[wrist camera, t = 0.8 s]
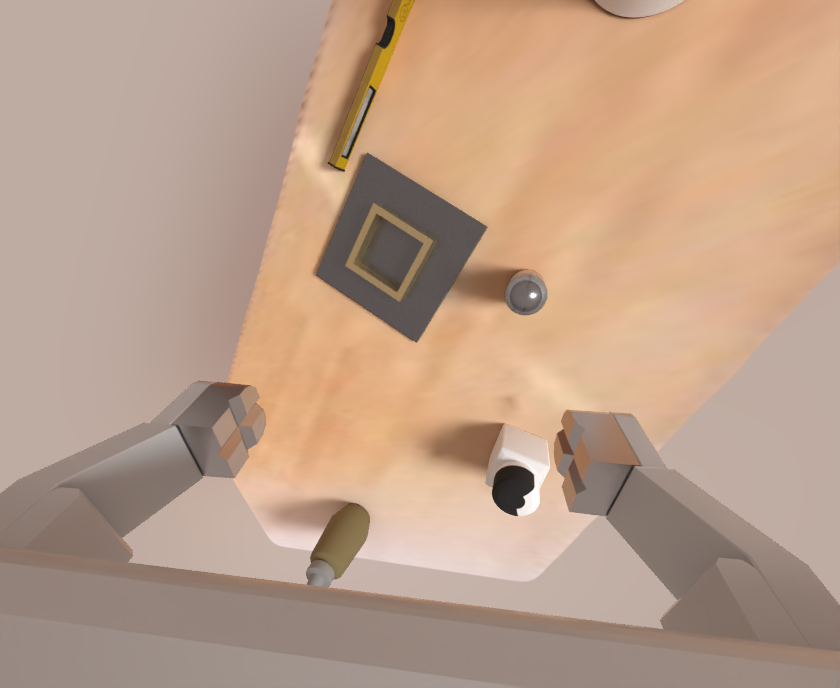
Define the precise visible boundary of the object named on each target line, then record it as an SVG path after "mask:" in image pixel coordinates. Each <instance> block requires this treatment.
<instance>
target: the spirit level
mask: <svg viewBox="0 0 840 688" xmlns="http://www.w3.org/2000/svg"><path fill="white" fill-rule="evenodd" d="M414 1H415V0H393V2H392V4H391V7H390V9H389V12H388V14H387V27H386V29H385V32H384V34H383V37H382V39H381V41H380V42H379V43H376V45H375V47H374V50H373V53H372V55H371V58H370V60H369V63H368V65H367V68H366V70H365V73H364V76H363V78H362V81H361V83H360V86H359V88H358V91H357V93H356V96H355V98H354V101H353V104H352V106H351V109H350V111H349V114H348V116H347V119H346V121H345V124H344V126H343V129H342V132H341V134H340V137H339V139H338V142H337V144H336V147H335V149H334V152H333V154H332V157H331V160H330V162H328V164H330V165H331V166H333V167H334V168H336V169H339V170H342V171H344V172H345V167H346V165H347V163H348V160H349V158H350V155H351V153H352V151H353V148H354V146H355V143H356V141H357V139H358V136H359V134H360V131H361V129H362V126H363V124H364V122H365V119H366V117H367V114H368V112H369V110H370V107H371V105H372V102H373V100H374V98H375V95H376V93H377V90H378V88H379V85H380V83H381V81H382V78H383V76H384V73H385V71H386V69H387V66H388V64H389V61H390V59H391V56H392V54H393V52H394V49H395V47H396V44H397V42H398V40H399V37H400V35H401V32H402V30H403V28H404V25H405V23H406V20H407V18H408V15H409V13H410V11H411V8H412V6H413V3H414Z"/></svg>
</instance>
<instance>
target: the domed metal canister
mask: <svg viewBox="0 0 840 688" xmlns="http://www.w3.org/2000/svg"><path fill="white" fill-rule="evenodd" d="M505 300H506V303H507V305H508V307H509V308H510V309H511V310H512V311H513V312H515V313H517V314H520V315H531V314H534V313H536V312H538V311H539V310H540V309H541V308H542V307H543V306H544V304H545V302H546V300H547V289H546V286H545V283H544V281H543V278H542V277H541V275H540V274H539V273H537V272H536V271H533V270H529V269H525V270H521V271H519V272H517V273H515V274H514V275H513V276H512V278H511V279H510V282H509V284H508V286H507V288H506V291H505Z"/></svg>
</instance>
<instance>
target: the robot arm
mask: <svg viewBox="0 0 840 688" xmlns="http://www.w3.org/2000/svg"><path fill="white" fill-rule="evenodd" d="M595 1H596V3H597V4H599V5H600V6H601V7H602V8H604V9H605V10H607V11H608V12H611V13H613V14H616V15H619V16H623V17H645V16H650V15H654V14H658V13H660V12H663V11H666V10H668V9H670V8H672V7H674V6H676V5H678V4H679V3H681V2H683V1H684V0H595ZM258 399H259V394H258V392H257V389H256V387H253V386H251V385H241V384H231V383H221V382H207V381H197V382H194V383H192V384H191V385H190V386H189V387H188V388H187V389H186V390H185V391H184V392H182V393H181V394H180V395H179V396H178V397H177V398H176V399H175V400H174V401H173V402H172V403H171V404H170V405H169V406H167V407H166V408H165V409H164V410H163V411H162V412H161V413H160V414H159V415H158V416H157V417H156V418H155V419H154V420H152V421H151V422H150V423H142V424H140V425H138V426H136V427H133V428H131V429H129V430H127V431H125V432H122V433H120V434H118V435H116V436H114V437H111V438H109V439H107V440H105V441H103V442H101V443H98V444H96V445H94V446H92V447H89V448H87V449H85V450H83V451H81V452H79V453H76V454H74V455H72V456H70V457H68V458H65V459H63V460H61V461H59V462H56V463H54V464H52V465H50V466H48V467H45V468H43V469H41V470H39V471H37V472H34V473H32V474H30V475H28V476H26V477H23V478H21V479H19V480H17V481H16V482H15V483H13V484H12V485H11V486H9V487H8V488H7V489H6V490H4V491H3V492H2V493H1V494H0V688H840V605H839V604H838V602H837V601H836V600H835V599H834V597H833V596H832V595H831V594H830V592H829V591H828V590H827V589H826V587H825V586H824V585H823V584H822V582H821V581H820V580H819V579H818V578H817V576H816V575H815V574H814V572H813V571H812V570H811V569H810V567H809V566H808V565H807V564H805V563H804V562H803V561H801V560H800V559H798V558H797V557H796V556H794V555H793V554H791V553H790V552H789V551H787V550H786V549H784V548H783V547H782V546H780V545H779V544H778V543H776V542H775V541H773V540H772V539H771V538H769V537H768V536H766V535H765V534H764V533H762V532H761V531H759V530H758V529H757V528H755V527H754V526H752V525H751V524H750V523H748V522H747V521H745V520H744V519H743V518H741V517H740V516H738V515H737V514H736V513H734V512H733V511H731V510H730V509H729V508H727V507H726V506H724V505H723V504H722V503H720V502H719V501H718V500H716V499H715V498H713V497H712V496H710V495H709V494H708V493H706V492H705V491H704V490H702V489H701V488H699V487H698V486H697V485H695V484H694V483H692V482H691V481H690V480H688V479H687V478H685V477H684V476H683V475H681V474H680V473H678V472H677V471H676V470H671V469H667V467H666V466H665V464H664V462H663V461H662V459H661V458H660V456H659V454H658V453H657V451H656V450H655V448H654V446H653V445H652V443H651V442H650V440H649V438H648V437H647V435H646V433H645V432H644V430H643V429H642V427H641V425H640V424H639V422H638V421H637V419H636V417H635V416H633V415H632V414H628V413H611V412H609V413H606V412H592V411H578V410H566V411H565V413H564V414H563V417H562V420H561V422H562V425H563V428H564V429H563V430H561V431H560V432H559V433H557V435H556V439H555V443H554V458H555V464H556V468H557V471H558V472H559V473H560V474H561V475H562V476H563V477H564V478H565V479H564V482H563V485H562V489H563V492H564V496H565V499H566V503H567V506H568V509H569V512H575V513H583V514H591V515H599V516H607V520H608V521H609V522H610V523H611V524H612V525H613V527H614V528H615V529H616V530H617V531H618V532H619V533H620V534H621V536H622V537H623V538H624V539H625V540H626V541H627V543H628V544H629V545H630V546H631V547H632V548H633V549H634V550H635V552H636V553H637V554H638V555H639V556H640V558H641V559H642V560H643V561H644V562H645V563H646V564H647V566H648V567H649V568H650V569H651V570H652V571H653V572H654V574H655V575H656V576H657V577H658V578H659V579H660V580H661V582H662V583H663V584H664V585H665V586H666V587H667V589H668V590H669V591H670V592H671V593H672V594H673V595H674V597H675V598H676V599H677V601H676V602H675V603H674V604H673V605H672V606H671V607H670V608H669V609H668V611H667V612H666V613H665V614H664V615H663V617H662V618H661V620H660V621H661V624H662V626H663V629H657V628H649V627H641V626H633V625H625V624H616V623H609V622H601V621H592V620H585V619H577V618H569V617H561V616H553V615H545V614H537V613H529V612H520V611H513V610H504V609H496V608H489V607H481V606H473V605H465V604H456V603H449V602H441V601H433V600H424V599H417V598H409V597H401V596H393V595H385V594H377V593H369V592H361V591H352V590H344V589H337V588H328V587H320V586H312V585H304V584H296V583H288V582H280V581H272V580H264V579H256V578H248V577H240V576H232V575H224V574H216V573H208V572H200V571H192V570H184V569H175V568H168V567H160V566H152V565H151V566H150V565H144V564H135V563H128V562H129V560H130V559H131V558H132V556H133V554H132V553H133V552H132V549H131V548H130V547H129V545H127V543H126V542H125V541H124V540H123V539H122V537H124V536H125V535H127V534H128V533H129V532H130V531H132V530H133V529H134V528H136V527H137V526H139V525H140V524H141V523H143V522H144V521H145V520H147V519H148V518H149V517H151V516H152V515H153V514H155V513H156V512H157V511H159V510H160V509H162V508H163V507H164V506H166V505H167V504H168V503H170V502H171V501H172V500H174V499H175V498H176V497H178V496H179V495H180V494H182V493H183V492H184V491H186V490H187V489H189V488H190V487H191V486H193V485H194V484H195V483H197V482H198V481H199V480H200V479H202V478H203V476H212V477H225V478H235V477H236V476H237V474H238V473H239V471H240V469H241V468H242V466H243V465H244V463H245V462H246V460H247V459H248V457H249V455H248V449H249V448H251V447H252V446H254V445H256V444H257V443H258V442H259V440H260V438H261V437H262V435H263V432H264V429H265V425H266V416H265V413H264V409H263V408H261V407H260V406H259V405H258V404H257V403H256V402H257V400H258Z"/></svg>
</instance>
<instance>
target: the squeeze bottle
mask: <svg viewBox="0 0 840 688" xmlns="http://www.w3.org/2000/svg"><path fill="white" fill-rule="evenodd" d="M369 523H370V516H369V514H368V512H367V511H366V510H365V509H364V508H363V507H361V506H360V505H358V504H348V505H347V506H346V507H344V508H343V509H341V510H340V511H338V512H337V513H336V514H334V515H333V516H332V518H331V519H330V521H329V523H328V525H327V527H326V528H325V530H324V532H323V534H322V536H321V537H320V539H319V541H318V543H317V545H316V546H315V548H314V550H313V552H312V554H311V557H310V559H311V564H310V566H309V567H308V569H307V571H306V576H307V579H308V583H307V585H312V586H320V587H329V586H330V584H331V582H332V581H333V579H338V578H339V577H341V576H342V574H343V573H344V571H345V570H346V568H347V567H348V566H349V564H350V563H351V561H352V560H353V558H354V557H355V556H356V554H357V553H358V551H359V550H360V548H361V547H362V545H363V544H364V542H365V541H366V538H367V536H368V529H369Z"/></svg>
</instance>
